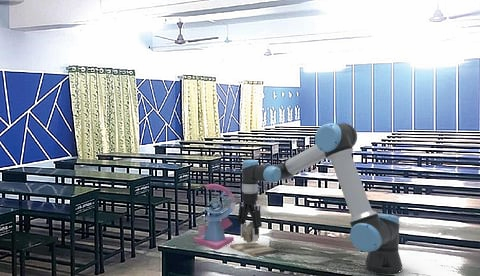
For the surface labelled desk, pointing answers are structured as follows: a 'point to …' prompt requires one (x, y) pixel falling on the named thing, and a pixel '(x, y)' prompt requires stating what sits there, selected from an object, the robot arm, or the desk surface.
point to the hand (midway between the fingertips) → (249, 239)
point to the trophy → (216, 221)
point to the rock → (248, 233)
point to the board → (254, 249)
